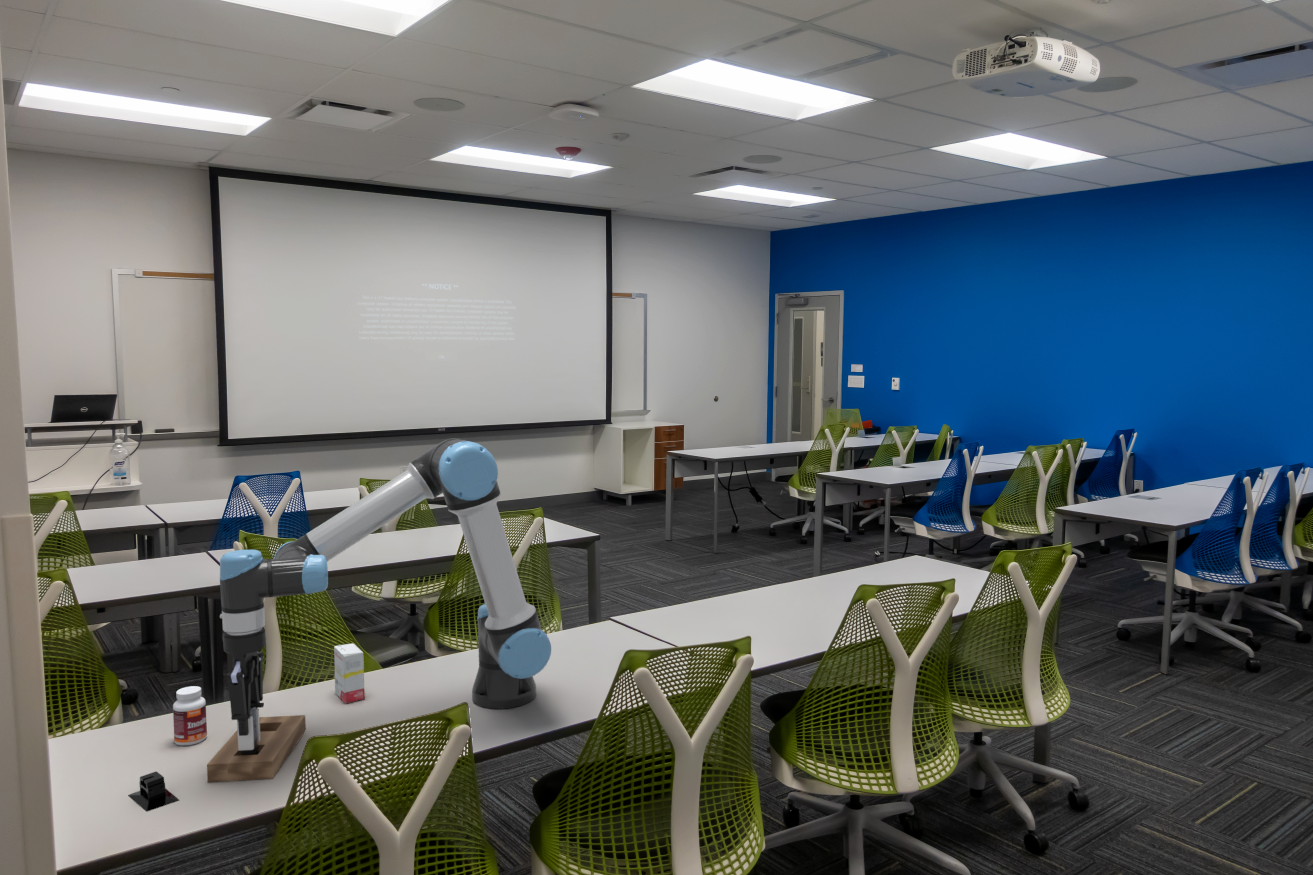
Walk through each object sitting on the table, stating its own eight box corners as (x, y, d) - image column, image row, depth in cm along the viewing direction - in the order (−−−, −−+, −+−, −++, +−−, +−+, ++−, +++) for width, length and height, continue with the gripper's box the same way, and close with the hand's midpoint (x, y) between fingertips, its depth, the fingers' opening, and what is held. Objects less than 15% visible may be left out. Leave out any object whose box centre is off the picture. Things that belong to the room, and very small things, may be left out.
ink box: (365, 699, 206) (364, 651, 205) (344, 704, 203) (343, 655, 202) (355, 688, 213) (353, 641, 212) (334, 693, 210) (332, 645, 209)
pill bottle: (190, 748, 180) (188, 697, 179) (167, 744, 182) (164, 693, 181) (214, 735, 186) (211, 686, 185) (191, 732, 188) (188, 683, 187)
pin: (261, 763, 173) (258, 705, 172) (255, 769, 170) (252, 711, 169) (245, 763, 173) (242, 705, 172) (239, 770, 170) (236, 711, 169)
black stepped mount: (120, 796, 161) (118, 773, 161) (162, 782, 167) (161, 759, 166) (144, 819, 153) (143, 794, 153) (188, 803, 159) (187, 779, 158)
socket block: (305, 730, 189) (305, 714, 188) (272, 778, 167) (272, 760, 167) (248, 733, 187) (247, 717, 187) (207, 781, 166) (206, 764, 165)
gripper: (238, 618, 177) (244, 729, 179) (207, 643, 161) (213, 764, 163) (277, 616, 178) (282, 727, 180) (249, 641, 162) (255, 762, 164)
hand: (249, 744), depth 171 cm, fingers closed on pin, 3 cm apart
